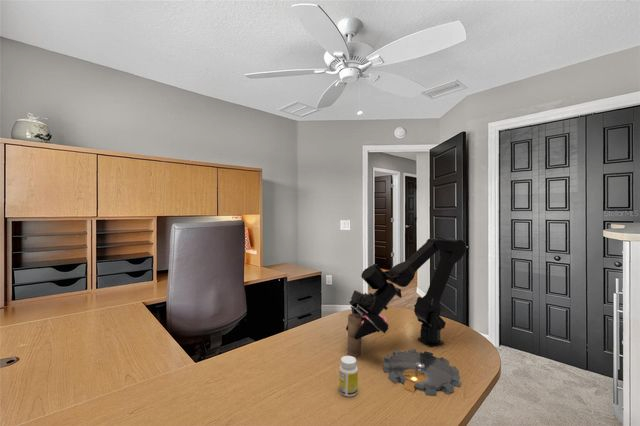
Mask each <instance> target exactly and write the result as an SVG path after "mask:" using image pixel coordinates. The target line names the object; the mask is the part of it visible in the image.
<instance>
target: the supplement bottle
mask: <svg viewBox="0 0 640 426" xmlns="http://www.w3.org/2000/svg"><path fill="white" fill-rule="evenodd" d="M338 369H339V372H338V373H339V377H338V378H339V379H338V381H339V383H338V384H339V385H338V386H339V387H338V388H339V393H340V394H341V395H342V396H344V397H347V398H348V397H350V398H352V397H354V396H356V395H357V394H358V389H359V387H358V384H359V383H358V381H359V380H358V379H359V377H358V375H359V374H358V373H359V372H358V370H359V369H358V366H357V359H356V357H352V356H349V355H344V356H342V357H341V358H340V365H339V368H338Z"/></svg>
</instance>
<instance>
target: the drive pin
mask: <svg viewBox="0 0 640 426" xmlns="http://www.w3.org/2000/svg"><path fill="white" fill-rule="evenodd" d="M361 324H362V316H361V315H359V314H352V313H349V314H348V315H347V325H348V331H347V356H352V357H354V358H358V357H361V355H362V338H359V339H357V340H356V339H355V338H354V336H355V335H356V333H357V332H358V330H359V329H360V327H361Z"/></svg>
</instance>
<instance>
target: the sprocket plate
mask: <svg viewBox="0 0 640 426" xmlns="http://www.w3.org/2000/svg"><path fill="white" fill-rule="evenodd" d="M382 370H383V372H384V373H387V374H388V379H389V380H390V381H391V382H392V383H394V384H397V383H400V384H403V389H404V390H407V391H410V392H412V393H415V391H416V390H419V391H423V392H424V394H425V396H437V392H440V391H441V392H442V393H444V394H446V395H449V394H452V393H453V392H455V387H458V388H460V385H461V376H460V371H459V369H458V368H457V367H456V366H454V365H453V366H452V365H450V361H449V360H447V359H446V358H445V357H442V356H441V357H436V356H434V353H432V352H429V351H426V350H425V351H424V352H418V351H417V350H416V349H413V348H411V349H410V348H407V349H406V351H402V350H400V349H397V350H393V351H392V355H390V354H386V355H385V356H384V357H383V362H382Z"/></svg>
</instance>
